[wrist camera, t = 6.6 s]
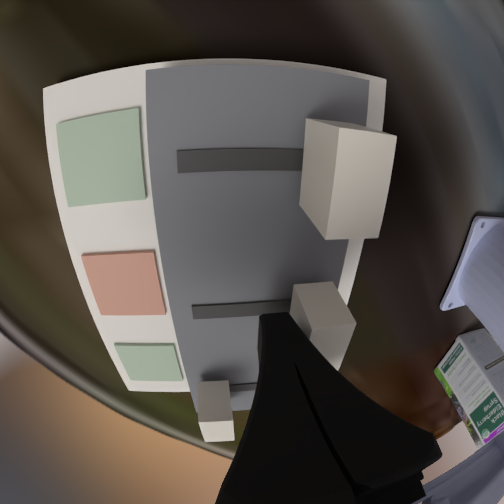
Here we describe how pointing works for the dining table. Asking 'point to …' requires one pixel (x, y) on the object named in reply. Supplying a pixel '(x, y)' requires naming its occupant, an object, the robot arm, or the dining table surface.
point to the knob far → (215, 411)
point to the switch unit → (196, 207)
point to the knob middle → (323, 318)
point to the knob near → (345, 178)
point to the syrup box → (475, 383)
